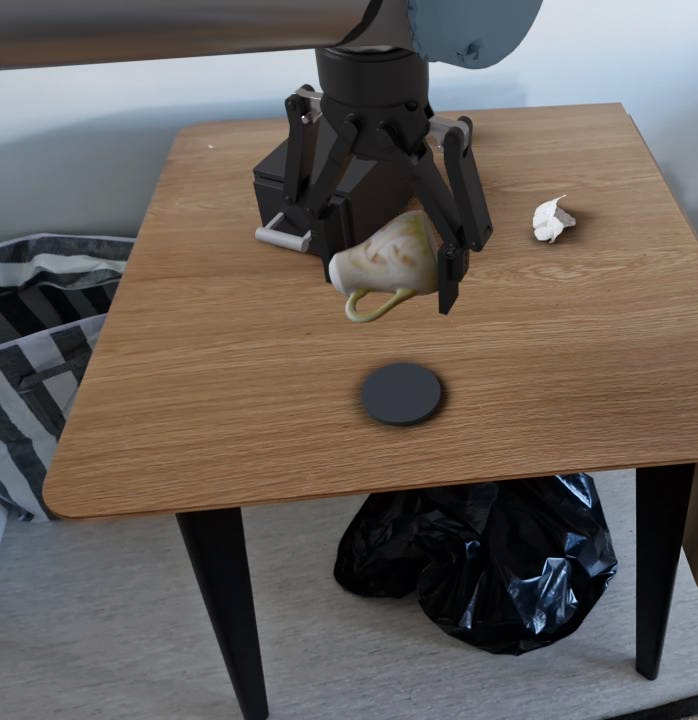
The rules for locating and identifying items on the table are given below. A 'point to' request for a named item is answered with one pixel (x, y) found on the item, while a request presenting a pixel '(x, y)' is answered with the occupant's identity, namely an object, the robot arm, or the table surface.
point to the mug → (388, 265)
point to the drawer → (290, 219)
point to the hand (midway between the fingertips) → (391, 289)
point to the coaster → (401, 394)
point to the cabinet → (350, 185)
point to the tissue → (551, 220)
